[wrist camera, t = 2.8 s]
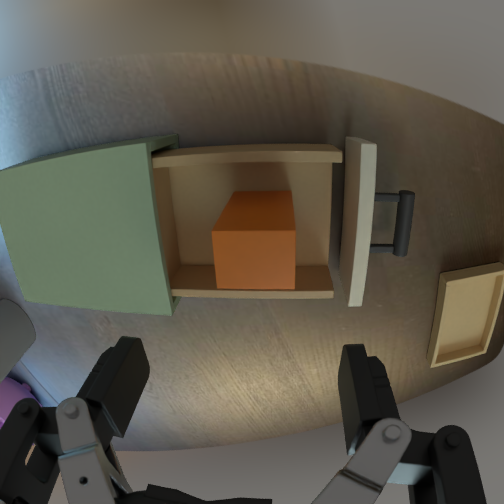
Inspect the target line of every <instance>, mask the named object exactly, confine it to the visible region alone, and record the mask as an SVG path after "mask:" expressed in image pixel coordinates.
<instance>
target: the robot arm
mask: <svg viewBox="0 0 504 504" xmlns="http://www.w3.org/2000/svg"><path fill="white" fill-rule="evenodd" d="M149 373H150V366H149V362H148V359H147V356H146V353H145V350H144V347H143V344H142V341H141V339H140V338H136V337H127V336H122V337H121V338H120V339H119V341H118V342H117V344H116V346H115V347H110V348H109V349H107V350H106V351H105V352H104V353H102V355H101V356H100V358H99V359H98V361H97V363H96V365H95V366H94V367H93V369H92V372H90V374H89V376H88V377H87V379H86V381H85V382H84V384H83V386H82V387H81V389H80V391H79V392H78V394H77V396H76V397H71V398H67V399H65V400H63V401H62V402H61V403H60V404H59V405H58V406H57V407H41V406H40V405H39V403H38V402H37V401H36V400H35V399H33V398H24V399H21V400H20V401H18V402H17V403H16V404H15V405H14V407H13V409H12V410H11V412H10V414H9V415H8V417H7V419H6V420H5V422H4V424H3V426H2V427H1V429H0V504H48V501H49V499H50V496H51V493H52V490H53V488H54V485H55V483H56V480H57V477H58V475H59V473H60V472H61V476H62V480H63V484H64V488H65V492H66V495H67V499H68V503H69V504H272V499H256V498H233V499H225V500H215V501H205V500H201V499H199V498H196V497H194V496H191V495H189V494H186V493H183V492H181V491H179V490H176V489H171V488H165V487H161V486H156V485H151V484H148V486H147V489H146V490H144V491H136V492H133V490H132V489H131V487H130V485H129V484H128V482H127V480H126V478H125V476H124V474H123V471H122V469H121V466H120V464H119V461H118V459H117V456H116V453H115V450H114V448H113V445H112V443H111V440H112V437H113V436H116V437H121V438H123V437H124V434H125V432H126V430H127V427H128V425H129V422H130V420H131V418H132V415H133V413H134V411H135V408H136V406H137V404H138V401H139V399H140V397H141V394H142V392H143V390H144V387H145V385H146V383H147V380H148V378H149ZM338 389H339V396H340V403H341V410H342V417H343V425H344V432H345V441H346V449H347V455H353V456H352V457H351V459H350V460H349V462H348V463H347V464H346V465H345V467H344V468H343V469H342V470H339V472H337V474H336V475H335V476H334V477H333V478H332V480H331V481H330V482H329V483H328V485H327V486H326V487H325V488H324V489H323V491H322V492H321V493H320V494H319V495H318V496H317V497H316V498H315V500H314V501H313V502H312V503H311V504H374V502H375V501H376V499H377V498H378V496H379V495H380V493H381V492H382V490H383V487H384V486H385V484H386V482H390V483H399V484H406V485H408V490H409V499H410V504H487V503H486V499H485V494H484V490H483V486H482V481H481V478H480V473H479V470H478V466H477V462H476V458H475V455H474V451H473V448H472V445H471V441H470V438H469V436H468V434H467V432H466V431H465V430H464V429H462V428H461V427H458V426H455V425H448V426H444V427H442V428H441V429H439V430H438V431H437V433H427V432H419V431H415V430H412V429H410V428H409V426H408V425H407V424H406V423H405V422H403V421H402V420H401V419H400V417H399V413H398V409H397V406H396V402H395V399H394V396H393V392H392V389H391V386H390V382H389V379H388V378H387V373H386V369H385V366H384V364H383V363H382V362H381V361H380V360H379V359H378V358H377V357H376V356H371V357H367V354H366V350H365V347H364V345H363V344H347V345H344V346H343V350H342V355H341V361H340V366H339V372H338ZM33 443H34V444H35V445H36V446H35V448H34V450H33V452H32V454H31V456H30V458H29V461H28V463H27V465H25V459H26V457H27V455H28V452H29V450H30V448H31V446H32V444H33Z"/></svg>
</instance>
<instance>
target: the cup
mask: <svg viewBox="0 0 504 504" xmlns="http://www.w3.org/2000/svg"><path fill="white" fill-rule="evenodd" d="M35 339H36V334H35V330H34V327H33V325H32V323H31V321H30V319H29V318H28V316H27V315H26V313H25V312H24V311H23V310H22V309H21V308H20V307H19V306H18V305H17V304H15V303H14V302H12V301H10V300H8V299H2V300H1V301H0V384H1V382H2V381H3V380H4V378H5V377H6V376H7V374H8V373H9V372H10V371H11V369H12V368H13V367H14V366H15V364H16V363H17V362H18V361H19V359H20V358H21V357H22V356H23V355H24V353H25V352H26V351H27V350H28V349H29V347H30V346H31V345H32V344H33V343H34V341H35Z"/></svg>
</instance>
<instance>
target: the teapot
mask: <svg viewBox="0 0 504 504" xmlns="http://www.w3.org/2000/svg"><path fill="white" fill-rule="evenodd" d="M30 391H31V388H30V387H29V386H28V385H27V384H25V383H23V384H22V385H21V384H19V383H18V382H16V381H15V380H13V379H11V378H9V377H6V378H4V380H3V381H2V382H1V384H0V429H1V427H2V426H3V424H4V422H5V420H6V419H7V417H8V415H9V414H10V412H11V410H12V409H13V407H14V405H15V404H16V403H17V402H18V401H20V400H21V399H24V398H33V399H35V400H36V401H37V399H36V398H35V397H34V396H33V395H32V394H31V393H30ZM37 402H38V401H37ZM38 403H39V402H38ZM39 405H40V406H41V407H43V406H42V405H41V404H40V403H39ZM32 445H34V444H32Z"/></svg>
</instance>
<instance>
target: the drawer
mask: <svg viewBox="0 0 504 504" xmlns="http://www.w3.org/2000/svg"><path fill="white" fill-rule="evenodd" d="M376 158H377V144H375V143H372V142H370V141H367V140H364V139H362V138H359V137H346V138H345V184H344V206H343V224H342V239H341V252H340V264H339V277H340V280H341V283H342V287H343V290H344V293H345V297H346V300H347V304H348V306H361V305H362V299H363V293H364V286H365V279H366V272H367V265H368V257H369V253H393V254H394V255H396V256H399V257H404V256H406V255H407V251H408V245H409V238H410V231H411V224H412V216H413V208H414V199H415V193H414V192H411V191H407V190H400V191H399V194H398V193H378V192H375V179H376ZM151 159H152V169H153V177H154V186H155V194H156V202H157V209H158V216H159V223H160V230H161V236H162V243H163V249H164V255H165V261H166V267H167V272H168V278H169V283H170V289H171V294H172V296H183V297H214V298H272V299H317V298H333V297H334V288H333V284H332V280H331V276H330V272H329V268H328V257H329V242H330V223H331V199H332V162H339V163H342V151H340V150H339V149H337V148H336V147H334V146H333V145H331V144H245V145H223V146H206V147H192V148H180V149H169V150H161V151H159V152H156V153H153V154H151ZM235 191H292V199H293V207H294V216H295V225H296V266H295V289H222V288H217V283H216V274H215V264H214V254H213V244H212V234H211V231H212V229H213V227H214V225H215V224H216V222H217V220H218V218H219V217H220V215H221V213H222V211H223V210H224V208H225V206H226V204H227V203H228V201H229V199H230V197H231V196H232V194H233V192H235ZM374 201H388V202H398V206H397V216H396V224H395V232H394V240H393V244H370V240H371V230H372V219H373V208H374Z"/></svg>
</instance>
